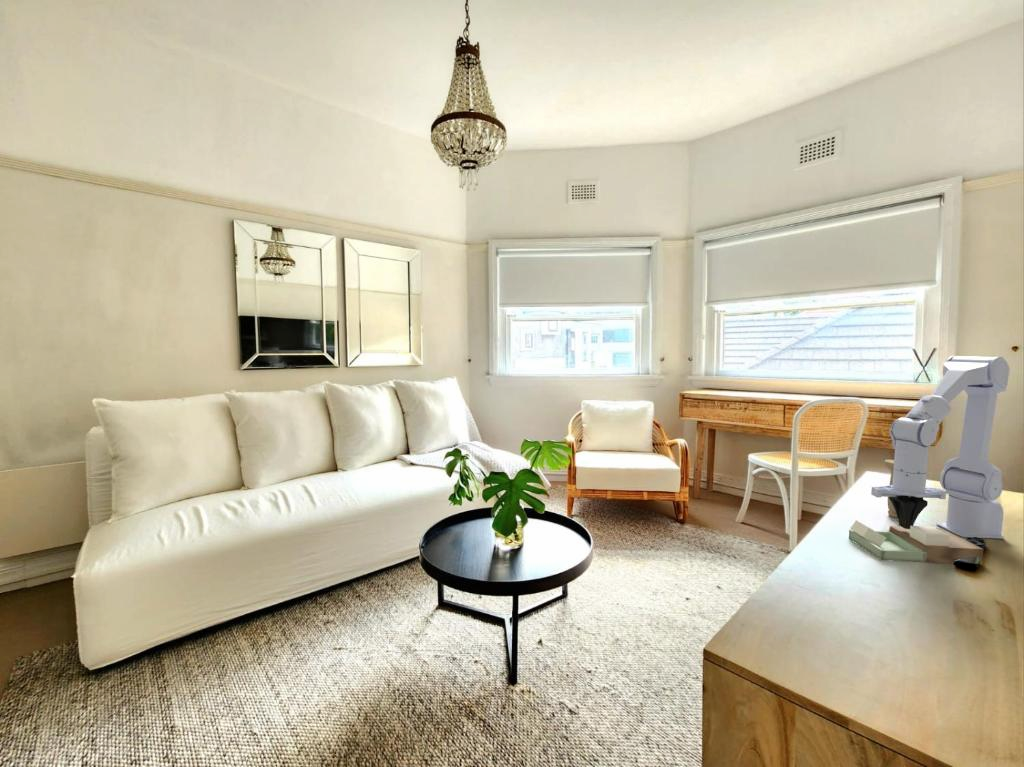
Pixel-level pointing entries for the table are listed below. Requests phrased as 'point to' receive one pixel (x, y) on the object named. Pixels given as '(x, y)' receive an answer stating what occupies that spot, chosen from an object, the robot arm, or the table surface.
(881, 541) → the tile
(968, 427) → the robot arm
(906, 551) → the tray
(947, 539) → the tile
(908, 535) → the board
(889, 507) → the handle
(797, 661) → the table surface
